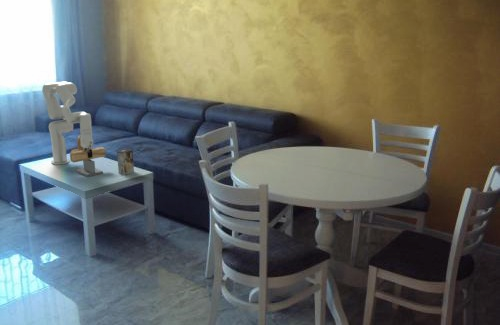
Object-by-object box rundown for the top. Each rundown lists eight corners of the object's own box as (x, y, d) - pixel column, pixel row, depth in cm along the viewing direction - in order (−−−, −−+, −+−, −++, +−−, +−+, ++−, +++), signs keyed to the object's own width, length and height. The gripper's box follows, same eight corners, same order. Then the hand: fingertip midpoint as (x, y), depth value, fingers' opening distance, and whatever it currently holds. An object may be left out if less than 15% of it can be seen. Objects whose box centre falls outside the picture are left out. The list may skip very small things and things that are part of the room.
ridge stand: (76, 172, 337) (75, 159, 335) (91, 168, 346) (90, 156, 343) (87, 177, 327) (86, 163, 324) (103, 173, 335) (102, 160, 332)
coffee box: (127, 170, 343) (126, 148, 339) (134, 171, 340) (133, 150, 336) (118, 173, 336) (116, 151, 331) (124, 175, 333) (123, 152, 328)
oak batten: (70, 161, 326) (69, 152, 325) (102, 155, 343) (101, 146, 341) (73, 162, 323) (72, 154, 322) (105, 156, 340) (105, 148, 338)
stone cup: (94, 154, 382) (92, 136, 378) (80, 157, 374) (78, 139, 370) (84, 151, 392) (83, 133, 388) (70, 153, 384) (69, 135, 380)
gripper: (75, 130, 331) (77, 155, 336) (87, 134, 320) (89, 160, 325) (85, 128, 336) (87, 153, 341) (97, 132, 325) (99, 158, 330)
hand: (88, 156), depth 333 cm, fingers closed on oak batten, 4 cm apart
